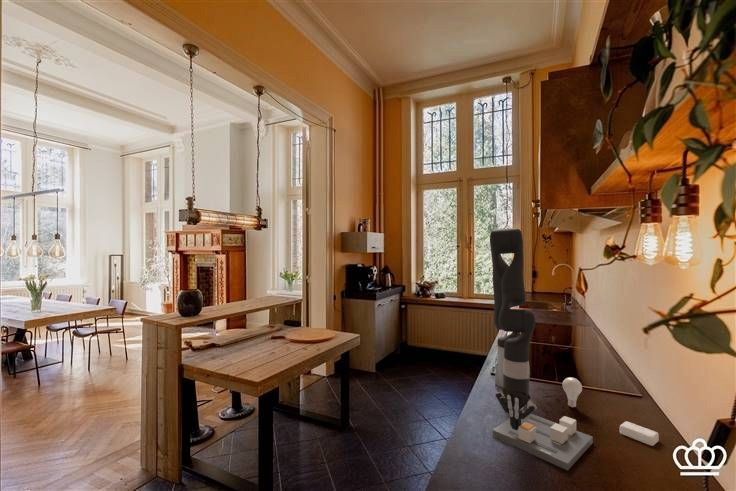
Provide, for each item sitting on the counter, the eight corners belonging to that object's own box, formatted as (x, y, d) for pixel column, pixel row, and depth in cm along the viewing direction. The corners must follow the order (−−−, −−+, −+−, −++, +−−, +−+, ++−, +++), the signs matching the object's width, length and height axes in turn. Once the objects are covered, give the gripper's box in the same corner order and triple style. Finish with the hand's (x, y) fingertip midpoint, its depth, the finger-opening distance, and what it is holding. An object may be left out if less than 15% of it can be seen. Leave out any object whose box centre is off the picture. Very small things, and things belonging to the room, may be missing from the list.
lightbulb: (562, 408, 128) (562, 379, 128) (562, 401, 134) (562, 373, 134) (582, 412, 125) (582, 382, 125) (581, 405, 131) (581, 376, 131)
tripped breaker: (518, 438, 105) (518, 425, 105) (524, 433, 107) (524, 421, 107) (529, 443, 102) (530, 430, 102) (536, 438, 105) (536, 426, 105)
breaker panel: (492, 435, 110) (492, 417, 110) (522, 415, 123) (522, 399, 123) (567, 470, 93) (567, 449, 93) (592, 443, 106) (592, 424, 106)
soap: (618, 434, 112) (618, 424, 112) (625, 429, 115) (625, 420, 115) (653, 447, 105) (653, 437, 105) (659, 441, 108) (659, 432, 108)
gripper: (490, 370, 110) (489, 424, 110) (531, 383, 100) (531, 442, 100) (502, 364, 115) (501, 416, 115) (543, 376, 104) (542, 433, 105)
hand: (515, 428), depth 107 cm, fingers closed
